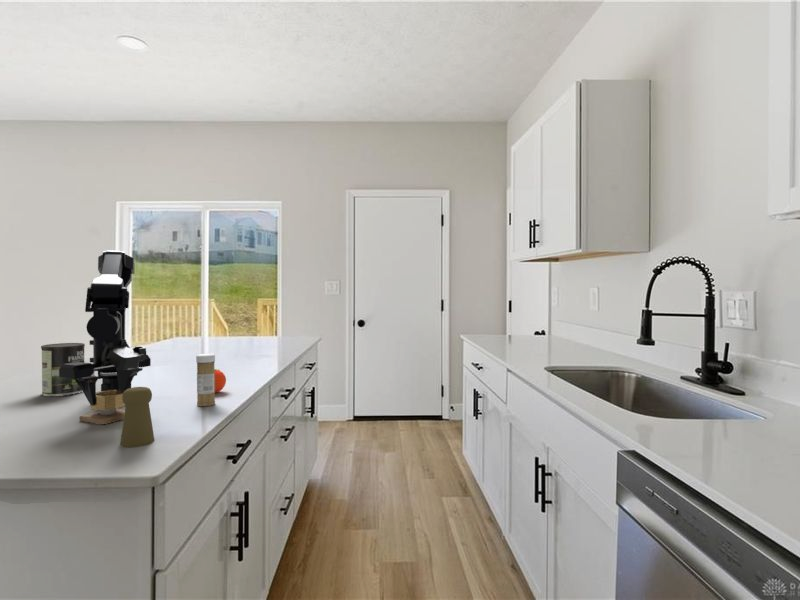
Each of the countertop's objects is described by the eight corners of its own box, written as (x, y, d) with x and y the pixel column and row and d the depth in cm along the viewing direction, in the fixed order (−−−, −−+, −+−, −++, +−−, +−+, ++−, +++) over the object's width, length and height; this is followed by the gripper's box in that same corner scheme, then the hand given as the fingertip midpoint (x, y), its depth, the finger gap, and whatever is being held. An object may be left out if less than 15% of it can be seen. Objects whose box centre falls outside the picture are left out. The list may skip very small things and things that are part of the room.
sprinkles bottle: (215, 402, 125) (215, 352, 125) (214, 406, 121) (214, 355, 120) (197, 403, 123) (196, 353, 123) (195, 407, 119) (195, 355, 119)
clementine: (200, 390, 139) (200, 367, 139) (224, 388, 142) (224, 365, 142) (201, 396, 132) (201, 371, 131) (227, 394, 134) (226, 369, 134)
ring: (112, 401, 113) (112, 388, 113) (132, 404, 111) (132, 391, 110) (83, 407, 107) (83, 395, 107) (104, 411, 104) (104, 397, 104)
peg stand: (112, 412, 114) (112, 391, 114) (135, 416, 111) (135, 394, 111) (79, 421, 106) (79, 398, 106) (103, 425, 103) (103, 402, 103)
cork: (130, 449, 88) (129, 392, 88) (113, 443, 91) (113, 388, 91) (160, 440, 93) (160, 386, 93) (144, 435, 97) (144, 383, 96)
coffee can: (93, 389, 140) (92, 342, 139) (68, 397, 129) (67, 347, 129) (59, 388, 140) (59, 342, 139) (32, 396, 129) (31, 346, 129)
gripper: (91, 341, 96) (92, 415, 97) (166, 333, 114) (166, 396, 114) (57, 339, 101) (57, 409, 101) (134, 331, 118) (135, 392, 118)
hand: (108, 401), depth 109 cm, fingers closed on ring, 7 cm apart
